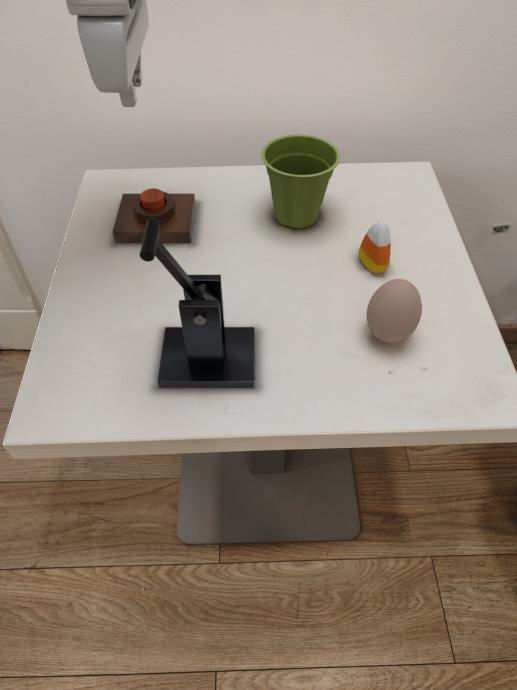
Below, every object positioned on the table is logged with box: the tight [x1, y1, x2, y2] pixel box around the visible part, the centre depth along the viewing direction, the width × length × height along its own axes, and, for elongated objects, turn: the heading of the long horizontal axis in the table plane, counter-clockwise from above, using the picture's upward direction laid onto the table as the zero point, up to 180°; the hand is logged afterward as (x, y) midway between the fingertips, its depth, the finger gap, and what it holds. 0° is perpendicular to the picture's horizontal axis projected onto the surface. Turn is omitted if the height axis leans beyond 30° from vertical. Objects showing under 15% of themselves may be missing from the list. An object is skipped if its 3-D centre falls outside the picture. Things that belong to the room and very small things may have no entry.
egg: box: [366, 278, 423, 343], centre depth 66 cm, size 7×7×10 cm
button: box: [140, 187, 165, 211], centre depth 81 cm, size 4×4×2 cm
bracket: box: [157, 274, 255, 388], centre depth 63 cm, size 12×9×13 cm
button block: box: [112, 190, 197, 244], centre depth 83 cm, size 12×10×4 cm
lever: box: [139, 218, 217, 300], centre depth 56 cm, size 12×5×2 cm
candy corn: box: [358, 220, 392, 274], centre depth 76 cm, size 6×3×8 cm, turn 25°
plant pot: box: [261, 133, 341, 229], centre depth 82 cm, size 12×12×11 cm
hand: (133, 94), depth 68 cm, fingers open, 4 cm apart
